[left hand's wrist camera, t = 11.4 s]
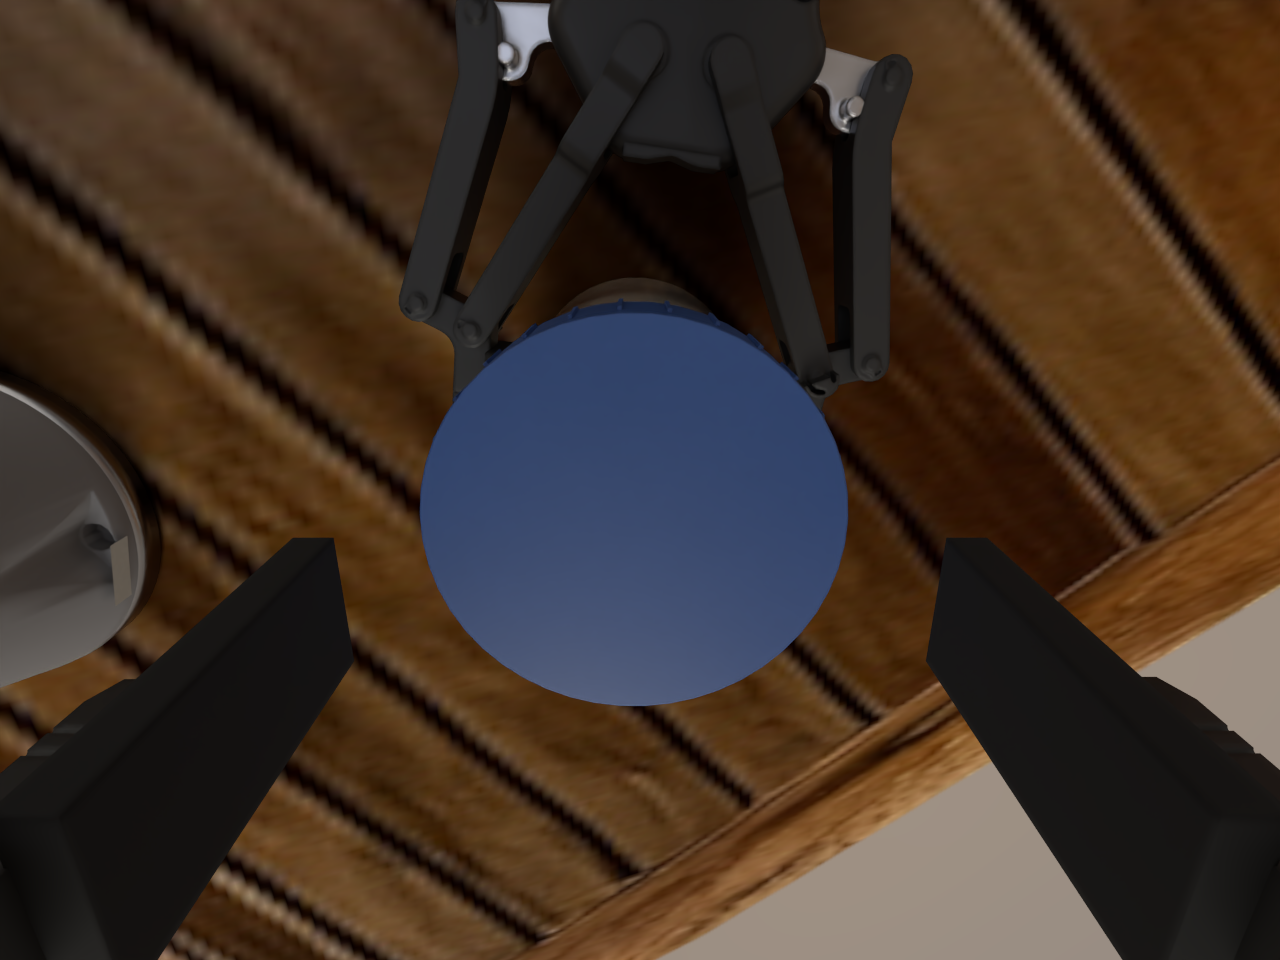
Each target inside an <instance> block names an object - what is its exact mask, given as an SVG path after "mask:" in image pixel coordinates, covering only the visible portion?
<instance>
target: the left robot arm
mask: <svg viewBox="0 0 1280 960" xmlns="http://www.w3.org/2000/svg"><path fill="white" fill-rule="evenodd" d="M160 558H161V544H160V535H159V528H158V524H157V519H156V515H155V512H154V509H153V506H152V503H151V501H150V498H149V496H148V494H147V492H146V489H145V487H144V485H143V484H142V482H141V480H140V478H139V476H138V475H137V473H136V471H135V470H134V468H133V467H132V465H131V464H130V462H129V461H128V459H127V458H126V457H125V456H124V454H123V453H122V452H121V451H120V449H119V448H118V447H117V446H116V444H115V443H114V442H113V441H112V440H111V439H110V438H109V437H108V436H107V435H106V434H105V433H104V432H103V431H102V430H101V429H100V428H99V427H98V426H97V425H96V424H95V423H94V422H92V421H91V420H90V419H89V418H88V417H86V416H85V415H84V414H83V413H81V412H80V411H79V410H78V409H76V408H75V407H73V406H72V405H70V404H69V403H67V402H66V401H64V400H63V399H61V398H60V397H58V396H56V395H54V394H53V393H51V392H49V391H48V390H46V389H44V388H42V387H40V386H38V385H35V384H33V383H31V382H29V381H27V380H24V379H22V378H19V377H16V376H14V375H11V374H8V373H5V372H1V371H0V688H1V687H4V686H6V685H9V684H12V683H15V682H18V681H20V680H23V679H26V678H29V677H32V676H34V675H37V674H40V673H43V672H46V671H49V670H52V669H54V668H57V667H60V666H63V665H65V664H68V663H70V662H72V661H74V660H76V659H79V658H81V657H83V656H85V655H87V654H89V653H91V652H92V651H94V650H96V649H97V648H99V647H100V646H102V645H103V644H104V643H105V642H107V641H108V640H109V639H111V638H112V637H113V636H114V635H116V634H117V633H118V632H119V631H121V630H122V629H123V628H124V627H126V626H127V625H128V624H129V623H130V622H132V621H133V620H134V618H135V617H136V616H137V615H138V614H139V613H140V612H141V610H142V609H143V607H144V606H145V605H146V603H147V601H148V600H149V598H150V596H151V594H152V592H153V589H154V586H155V584H156V581H157V577H158V572H159V567H160ZM353 662H354V658H353V652H352V646H351V640H350V634H349V628H348V622H347V616H346V610H345V604H344V598H343V592H342V586H341V580H340V574H339V568H338V562H337V556H336V550H335V544H334V538H292V539H291V540H290V541H289V542H288V543H287V544H286V545H285V546H283V547H282V548H281V549H280V550H279V551H278V552H277V553H276V554H275V555H273V556H272V557H271V558H270V559H269V560H268V561H267V562H266V563H265V564H263V565H262V566H261V567H260V568H259V569H258V570H257V571H256V572H255V573H253V574H252V575H251V576H250V577H249V578H248V579H247V580H246V581H245V582H243V583H242V584H241V585H240V586H239V587H238V588H237V589H236V590H235V591H233V592H232V593H231V594H230V595H229V596H228V597H227V598H226V599H225V600H223V601H222V602H221V603H220V604H219V605H218V606H217V607H216V608H215V609H213V610H212V611H211V612H210V613H209V614H208V615H207V616H206V617H205V618H203V619H202V620H201V621H200V622H199V623H198V624H197V625H196V626H194V627H193V628H192V629H191V630H190V631H189V632H188V633H187V634H186V635H184V636H183V637H182V638H181V639H180V640H179V641H178V642H177V643H176V644H174V645H173V646H172V647H171V648H170V649H169V650H168V651H167V652H166V653H164V654H163V655H162V656H161V657H160V658H159V659H158V660H157V661H156V662H154V663H153V664H152V665H151V666H150V667H149V668H148V669H147V670H146V671H144V672H143V673H142V674H141V675H140V676H139V677H138V678H137V679H124V680H122V681H120V682H119V683H117V684H115V685H113V686H112V687H110V688H108V689H106V690H104V691H103V692H101V693H99V694H97V695H95V696H94V697H92V698H90V699H88V700H86V701H85V702H83V703H82V704H81V705H80V706H79V707H78V708H76V709H75V710H74V711H73V712H72V713H71V714H69V715H68V716H67V717H66V718H65V719H64V720H62V721H61V722H60V723H59V724H58V725H57V726H55V727H54V728H53V729H54V730H53V733H47V734H46V735H45V736H44V737H43V738H41V739H40V740H39V741H38V742H37V743H35V744H34V745H33V746H32V747H31V748H30V749H28V750H27V751H28V753H27V755H26V756H20V757H19V758H18V759H17V760H16V761H14V762H13V763H12V764H11V765H10V766H9V767H7V768H6V769H5V770H4V771H3V772H2V773H0V960H158V958H159V957H160V955H161V954H162V952H163V951H164V949H165V948H166V946H167V945H168V943H169V942H170V940H171V939H172V937H173V935H174V934H175V932H176V931H177V929H178V928H179V926H180V925H181V923H182V922H183V920H184V919H185V917H186V916H187V914H188V913H189V911H190V910H191V908H192V907H193V905H194V904H195V902H196V901H197V899H198V897H199V896H200V894H201V893H202V891H203V890H204V888H205V887H206V885H207V884H208V882H209V881H210V879H211V878H212V876H213V875H214V873H215V872H216V870H217V869H218V867H219V866H220V864H221V862H222V861H223V859H224V858H225V856H226V855H227V853H228V852H229V850H230V849H231V847H232V846H233V844H234V843H235V841H236V840H237V838H238V837H239V835H240V834H241V832H242V831H243V829H244V828H245V826H246V824H247V823H248V821H249V820H250V818H251V817H252V815H253V814H254V812H255V811H256V809H257V808H258V806H259V805H260V803H261V802H262V800H263V799H264V797H265V796H266V794H267V793H268V791H269V789H270V788H271V786H272V785H273V783H274V782H275V780H276V779H277V777H278V776H279V774H280V773H281V771H282V770H283V768H284V767H285V765H286V764H287V762H288V761H289V759H290V758H291V756H292V755H293V753H294V751H295V750H296V748H297V747H298V745H299V744H300V742H301V741H302V739H303V738H304V736H305V735H306V733H307V732H308V730H309V729H310V727H311V726H312V724H313V723H314V721H315V720H316V718H317V717H318V715H319V713H320V712H321V710H322V709H323V707H324V706H325V704H326V703H327V701H328V700H329V698H330V697H331V695H332V694H333V692H334V691H335V689H336V688H337V686H338V685H339V683H340V682H341V680H342V678H343V677H344V675H345V674H346V672H347V671H348V669H349V668H350V666H351V665H352V663H353ZM926 662H927V663H928V665H929V666H930V668H931V669H932V671H933V672H934V674H935V675H936V677H937V678H938V680H939V682H940V683H941V685H942V686H943V688H944V689H945V691H946V692H947V694H948V695H949V697H950V698H951V700H952V701H953V703H954V704H955V706H956V707H957V709H958V710H959V712H960V713H961V715H962V717H963V718H964V720H965V721H966V723H967V724H968V726H969V727H970V729H971V730H972V732H973V733H974V735H975V736H976V738H977V739H978V741H979V742H980V744H981V745H982V747H983V748H984V750H985V751H986V753H987V755H988V756H989V758H990V759H991V761H992V762H993V764H994V765H995V767H996V768H997V770H998V771H999V773H1000V774H1001V776H1002V777H1003V779H1004V780H1005V782H1006V783H1007V785H1008V786H1009V788H1010V789H1011V791H1012V792H1013V794H1014V795H1015V797H1016V799H1017V800H1018V802H1019V803H1020V805H1021V806H1022V808H1023V809H1024V811H1025V812H1026V814H1027V815H1028V817H1029V818H1030V820H1031V821H1032V823H1033V824H1034V826H1035V827H1036V829H1037V831H1038V832H1039V834H1040V835H1041V837H1042V838H1043V840H1044V841H1045V843H1046V844H1047V846H1048V847H1049V849H1050V850H1051V852H1052V853H1053V855H1054V856H1055V858H1056V859H1057V861H1058V862H1059V864H1060V865H1061V867H1062V869H1063V870H1064V872H1065V873H1066V875H1067V876H1068V878H1069V879H1070V881H1071V882H1072V884H1073V885H1074V887H1075V888H1076V890H1077V891H1078V893H1079V894H1080V896H1081V897H1082V899H1083V901H1084V902H1085V904H1086V905H1087V907H1088V908H1089V910H1090V911H1091V913H1092V914H1093V916H1094V917H1095V919H1096V920H1097V922H1098V923H1099V925H1100V926H1101V928H1102V929H1103V931H1104V932H1105V934H1106V935H1107V937H1108V938H1109V940H1110V942H1111V943H1112V945H1113V946H1114V948H1115V949H1116V951H1117V952H1118V954H1119V955H1120V957H1121V958H1122V960H1280V770H1279V769H1278V768H1277V767H1275V766H1274V765H1273V764H1272V763H1271V762H1270V761H1268V760H1267V759H1266V758H1265V757H1264V756H1263V755H1261V754H1255V753H1254V750H1253V747H1252V746H1251V745H1250V744H1248V743H1247V742H1246V741H1245V740H1244V739H1243V738H1241V737H1240V736H1239V735H1238V734H1237V733H1236V732H1234V731H1229V730H1228V728H1227V725H1226V724H1225V723H1224V722H1223V721H1221V720H1220V719H1219V718H1218V717H1217V716H1216V715H1214V714H1213V713H1212V712H1211V711H1210V710H1209V709H1207V708H1206V707H1205V706H1204V705H1203V704H1201V703H1200V702H1199V701H1198V700H1197V699H1195V698H1193V697H1191V696H1190V695H1188V694H1186V693H1184V692H1182V691H1181V690H1179V689H1177V688H1175V687H1173V686H1172V685H1170V684H1168V683H1166V682H1164V681H1163V680H1161V679H1159V678H1157V677H1141V676H1140V675H1139V674H1138V673H1137V672H1136V671H1134V670H1133V669H1132V668H1131V667H1130V666H1129V665H1128V664H1127V663H1126V662H1124V661H1123V660H1122V659H1121V658H1120V657H1119V656H1118V655H1117V654H1116V653H1114V652H1113V651H1112V650H1111V649H1110V648H1109V647H1108V646H1107V645H1106V644H1104V643H1103V642H1102V641H1101V640H1100V639H1099V638H1098V637H1097V636H1096V635H1094V634H1093V633H1092V632H1091V631H1090V630H1089V629H1088V628H1087V627H1086V626H1084V625H1083V624H1082V623H1081V622H1080V621H1079V620H1078V619H1077V618H1075V617H1074V616H1073V615H1072V614H1071V613H1070V612H1069V611H1068V610H1067V609H1065V608H1064V607H1063V606H1062V605H1061V604H1060V603H1059V602H1058V601H1057V600H1055V599H1054V598H1053V597H1052V596H1051V595H1050V594H1049V593H1048V592H1047V591H1045V590H1044V589H1043V588H1042V587H1041V586H1040V585H1039V584H1038V583H1037V582H1035V581H1034V580H1033V579H1032V578H1031V577H1030V576H1029V575H1028V574H1027V573H1025V572H1024V571H1023V570H1022V569H1021V568H1020V567H1019V566H1018V565H1017V564H1015V563H1014V562H1013V561H1012V560H1011V559H1010V558H1009V557H1008V556H1007V555H1005V554H1004V553H1003V552H1002V551H1001V550H1000V549H999V548H998V547H997V546H995V545H994V544H993V543H992V542H991V541H990V540H989V539H988V538H946V544H945V550H944V556H943V562H942V568H941V574H940V580H939V586H938V592H937V598H936V604H935V610H934V616H933V622H932V628H931V634H930V640H929V646H928V652H927V658H926Z"/></svg>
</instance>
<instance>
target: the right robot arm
mask: <svg viewBox="0 0 1280 960" xmlns="http://www.w3.org/2000/svg"><path fill="white" fill-rule="evenodd" d="M455 16H456V35H457V54H458V73H459V77H458V81H457V85H456V88H455V92H454V96H453V99H452V103H451V107H450V110H449V114H448V118H447V122H446V125H445V129H444V133H443V136H442V140H441V144H440V147H439V151H438V155H437V159H436V162H435V166H434V170H433V173H432V177H431V181H430V184H429V188H428V192H427V196H426V199H425V203H424V207H423V210H422V214H421V218H420V221H419V225H418V229H417V232H416V236H415V240H414V244H413V247H412V251H411V255H410V258H409V262H408V266H407V269H406V273H405V277H404V281H403V284H402V288H401V292H400V295H399V306H400V309H401V311H402V312H403V314H404V315H405V316H406V317H407V318H409V319H410V320H412V321H418V322H420V321H422V322H424V323H426V324H428V325H430V326H432V327H434V328H436V329H438V330H440V331H442V332H443V333H445V334H446V335H447V336H448V337H449V338H450V340H451V342H452V344H453V347H454V352H455V358H454V382H453V399H454V397H455V396H456V395H457V394H458V393H459V392H460V391H461V390H462V389H463V388H465V387H466V386H467V385H468V384H469V383H470V382H471V381H472V380H473V379H474V378H475V377H476V376H477V375H478V374H479V373H480V372H481V371H482V369H483V368H485V366H484V365H483V363H484V362H485V361H487V360H488V359H489V358H490V357H491V356H492V355H493V354H494V353H495V352H497V351H498V350H499V349H500V350H501V351H503V350H504V349H505V348H507V347H508V346H509V345H511V344H512V343H513V342H506V341H499V342H498V332H499V331H500V330H501V329H502V325H503V324H504V322H505V321H506V319H507V317H508V316H509V314H510V313H511V311H512V309H513V308H514V306H515V305H516V303H517V302H518V300H519V298H520V297H521V295H522V294H523V292H524V290H525V289H526V287H527V286H528V284H529V283H530V281H531V279H532V278H533V276H534V275H535V273H536V272H537V270H538V268H539V267H540V265H541V264H542V262H543V260H544V259H545V257H546V256H547V254H548V253H549V251H550V249H551V248H552V246H553V245H554V243H555V242H556V240H557V238H558V237H559V235H560V234H561V232H562V230H563V229H564V227H565V226H566V224H567V223H568V221H569V219H570V218H571V216H572V215H573V213H574V211H575V210H576V208H577V207H578V205H579V204H580V202H581V200H582V199H583V197H584V196H585V194H586V193H587V191H588V189H589V188H590V186H591V185H592V183H593V182H594V181H595V179H596V178H597V177H598V175H599V174H600V172H601V171H602V169H603V168H604V166H605V165H606V163H607V162H608V160H609V158H610V157H611V155H612V154H613V153H614V154H616V155H617V156H619V157H621V158H623V161H627V162H633V163H640V164H651V163H658V162H666V161H670V162H673V163H675V164H677V165H680V166H682V167H684V168H686V169H688V170H690V171H695V172H702V173H708V174H715V173H716V172H719V171H723V170H725V173H726V177H727V180H728V183H729V187H730V190H731V193H732V196H733V198H734V200H735V202H736V204H737V207H738V210H739V213H740V217H741V220H742V224H743V227H744V230H745V234H746V237H747V240H748V244H749V247H750V250H751V254H752V257H753V261H754V264H755V267H756V271H757V274H758V277H759V281H760V284H761V288H762V291H763V294H764V298H765V301H766V304H767V308H768V311H769V314H770V318H771V321H772V325H773V328H774V331H775V335H776V338H777V341H778V345H779V348H780V351H781V355H782V358H783V362H784V364H785V365H786V366H787V367H788V368H789V369H790V370H791V371H792V372H793V373H794V374H795V375H796V376H797V377H798V378H799V379H798V380H797V382H798V383H799V385H800V386H801V387H802V388H803V389H804V390H805V391H806V392H807V393H808V395H809V396H810V398H811V399H812V401H813V402H814V404H815V405H816V406H817V407H818V408H819V409H820V410H821V411H822V407H823V402H824V400H825V398H826V397H828V396H830V395H832V394H833V393H834V392H835V391H836V389H837V388H838V385H841V384H844V383H849V382H854V381H859V380H864V381H871V382H872V381H875V380H878V379H880V378H881V377H882V376H884V374H885V373H886V371H887V370H888V366H889V344H890V254H891V164H892V140H893V137H894V134H895V131H896V128H897V125H898V122H899V119H900V116H901V113H902V110H903V107H904V104H905V100H906V97H907V94H908V91H909V88H910V85H911V82H912V76H913V72H912V67H911V64H910V63H909V61H908V60H907V58H905V57H903V56H902V55H898V54H891V55H889V56H886V57H884V58H883V59H881V60H880V61H877V62H876V61H871V60H868V59H864V58H861V57H857V56H854V55H850V54H847V53H843V52H840V51H836V50H833V49H829V48H826V42H825V37H824V33H823V30H822V26H821V21H820V13H819V0H552V1H551V3H550V4H544V3H516V2H496V1H494V0H457V1H456V9H455ZM547 49H555V50H556V52H557V54H558V56H559V58H560V60H561V62H562V64H563V66H564V68H565V70H566V72H567V74H568V76H569V78H570V80H571V82H572V84H573V86H574V88H575V90H576V92H577V94H578V96H579V98H580V100H581V102H582V104H583V105H582V107H581V109H580V110H579V112H578V114H577V115H576V117H575V118H574V120H573V122H572V123H571V125H570V127H569V128H568V130H567V132H566V133H565V135H564V137H563V138H562V140H561V142H560V144H559V146H558V149H557V151H556V154H555V156H554V158H553V159H552V161H551V163H550V164H549V166H548V168H547V169H546V171H545V172H544V174H543V176H542V177H541V179H540V181H539V182H538V184H537V186H536V187H535V189H534V191H533V192H532V194H531V195H530V197H529V199H528V200H527V202H526V204H525V205H524V207H523V209H522V210H521V212H520V214H519V215H518V217H517V219H516V220H515V222H514V223H513V225H512V227H511V228H510V230H509V232H508V233H507V235H506V237H505V238H504V240H503V242H502V243H501V245H500V246H499V248H498V250H497V251H496V253H495V255H494V256H493V258H492V260H491V261H490V263H489V265H488V266H487V268H486V269H485V271H484V273H483V274H482V276H481V278H480V279H479V281H478V283H477V284H476V286H475V288H474V289H473V291H472V292H471V294H470V296H469V297H467V296H465V295H463V294H461V293H459V292H457V291H456V289H457V286H458V282H459V279H460V276H461V272H462V269H463V266H464V262H465V259H466V255H467V252H468V249H469V245H470V242H471V239H472V235H473V232H474V228H475V225H476V222H477V218H478V215H479V212H480V208H481V205H482V202H483V198H484V195H485V191H486V188H487V185H488V181H489V178H490V175H491V171H492V168H493V164H494V161H495V158H496V154H497V151H498V148H499V144H500V141H501V138H502V134H503V131H504V127H505V124H506V120H507V116H508V112H509V108H510V101H511V93H512V86H518V85H522V84H524V83H525V82H526V81H527V80H528V79H529V78H530V76H531V74H532V70H533V66H534V62H535V60H536V58H537V56H538V55H539V54H540V53H541V52H543V51H545V50H547ZM809 88H810V89H812V90H814V91H816V92H817V93H818V94H819V96H820V97H821V99H822V103H823V122H824V125H825V127H826V129H827V130H828V131H830V132H831V133H833V134H835V135H836V139H835V144H834V151H833V167H832V179H833V242H834V305H835V343H831V344H826V342H825V338H824V334H823V331H822V327H821V323H820V320H819V316H818V312H817V309H816V305H815V301H814V298H813V294H812V290H811V287H810V283H809V279H808V276H807V272H806V268H805V265H804V261H803V257H802V254H801V250H800V246H799V243H798V239H797V235H796V232H795V228H794V224H793V221H792V217H791V213H790V210H789V206H788V202H787V199H786V195H785V191H784V178H783V172H782V168H781V164H780V160H779V157H778V153H777V149H776V146H775V142H774V138H773V135H772V131H771V130H772V129H773V128H774V127H775V126H776V124H777V123H778V122H779V121H780V120H781V119H782V118H783V117H784V116H785V115H786V113H787V112H788V111H789V110H790V109H791V108H792V107H793V106H794V105H795V104H796V103H797V101H798V100H799V99H800V98H801V97H802V96H803V95H804V94H805V93H806V92H807V90H808V89H809ZM454 402H455V401H453V403H454Z"/></svg>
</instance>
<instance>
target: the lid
mask: <svg viewBox="0 0 1280 960" xmlns="http://www.w3.org/2000/svg"><path fill="white" fill-rule="evenodd" d="M763 347H764V346H763V345H762V344H761V343H760V342H758V341H757V340H756V339H755V338H754V337H753V336H752V335H751V334H748V335H747V336H746V335H744V334H743V333H741V332H740V331H738V330H736V329H735V328H733V327H732V326H730V325H728V324H726V323H724V322H722V321H719V320H718V319H717V318H716V317H715V316H714V315H713V314H712V313H710V312H709V313H708V315H706V314H704V313H700V312H697V311H694V310H690V309H687V308H683V307H680V306H675V305H670V302H669V301H666V300H665V302H664V304H662V303H655V302H627V301H623V298H621V299H619V300H618V302H615V303H606V304H598V305H593V306H589V307H586V308H582V309H579V308H578V306H576V307H573V309H572V310H571V311H570V312H568V313H565V314H563V315H561V316H558V317H556V318H553V319H551V320H548V321H546V322H544V323H542V324H541V325H539V326H537V324H536V323H535V324H533V325H532V326H531V327H530V328H529V329H528V330H527V331H526V332H525V333H524V334H522V336H521V337H519V338H518V339H517V340H516V341H514V342H513V343H512V344H511V345H509V346H508V347H507V348H505V349H504V350H503V351H501V350H500V349H499V350H498V351H497V352H495V353H494V354H493V355H492V356H491V357H490V358H489V359H488V360H487V361H485V362H484V363H483V365H484V366H485V368H483V369H482V371H481V372H480V373H479V374H478V375H477V376H476V377H475V378H474V379H473V380H472V381H471V382H470V383H469V384H468V385H467V386H466V387H465V388H463V389H462V390H461V391H460V392H459V393H458V394H457V395H456V396H455V397H454V399H453V401H455V402H454V403H453V405H452V406H451V408H450V409H449V410H448V412H447V413H446V415H445V417H444V419H443V421H442V423H441V425H440V427H439V429H438V431H437V433H436V435H435V436H434V438H433V443H432V446H431V449H430V451H429V454H428V457H427V460H426V464H425V469H424V474H423V480H422V485H421V499H420V521H421V530H422V540H423V544H424V548H425V552H426V556H427V560H428V564H429V567H430V569H431V572H432V574H433V577H434V579H435V582H436V584H437V587H438V589H439V591H440V593H441V594H442V596H443V598H444V600H445V602H446V603H447V605H448V607H449V609H450V610H451V612H452V613H453V614H454V616H455V617H456V618H457V620H458V621H459V622H460V624H461V625H462V626H463V628H464V629H465V630H466V632H467V633H468V634H469V635H470V636H471V637H472V638H473V639H474V640H475V641H476V642H477V643H478V644H479V645H480V646H481V647H482V648H483V649H484V650H485V651H487V652H488V653H489V654H490V655H491V656H493V657H494V658H495V659H496V660H498V661H499V662H500V663H501V664H503V665H504V666H506V667H507V668H509V669H511V670H512V671H514V672H515V673H517V674H518V675H520V676H522V677H523V678H525V679H527V680H529V681H531V682H533V683H536V684H538V685H540V686H542V687H544V688H546V689H549V690H551V691H554V692H557V693H560V694H563V695H566V696H569V697H572V698H577V699H581V700H585V701H590V702H594V703H602V704H610V705H619V706H648V705H658V704H668V703H674V702H678V701H683V700H688V699H693V698H696V697H699V696H702V695H705V694H708V693H711V692H714V691H718V690H720V689H722V688H724V687H726V686H729V685H731V684H733V683H735V682H737V681H740V680H742V679H743V678H745V677H747V676H748V675H750V674H751V673H753V672H755V671H756V670H758V669H760V668H761V667H763V666H764V665H765V664H767V663H768V662H769V661H771V660H772V659H773V658H774V657H776V656H777V655H778V654H780V653H781V652H782V651H783V650H784V649H785V648H786V647H787V646H788V645H789V644H790V643H791V642H792V641H793V640H794V639H795V638H796V637H797V636H798V635H799V634H800V633H801V632H802V631H803V629H804V628H805V627H806V625H807V624H808V623H809V622H810V620H811V619H812V618H813V616H814V615H815V614H816V612H817V610H818V609H819V607H820V605H821V604H822V602H823V600H824V599H825V597H826V595H827V594H828V592H829V589H830V587H831V585H832V582H833V580H834V578H835V575H836V573H837V570H838V568H839V564H840V560H841V557H842V553H843V549H844V545H845V539H846V531H847V523H848V492H847V486H846V480H845V474H844V468H843V464H842V461H841V457H840V454H839V452H838V448H837V445H836V442H835V440H834V438H833V436H832V434H831V432H830V429H829V427H828V425H827V423H826V421H825V419H824V417H825V415H824V413H823V412H822V411H821V410H820V409H819V408H818V407H817V406H816V405H815V404H814V402H813V401H812V399H811V398H810V396H809V395H808V393H807V392H806V391H805V390H804V389H803V388H802V387H801V386H800V385H799V383H798V382H797V380H798V379H799V378H798V377H797V376H796V375H795V374H794V373H793V372H792V371H791V370H790V369H789V368H788V367H787V366H786V365H785V364H784V363H783V362H781V363H780V364H779V363H778V362H777V361H776V360H775V359H774V358H773V357H772V356H771V355H770V354H769V353H768V352H766V351H765V350H764V349H763Z"/></svg>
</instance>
